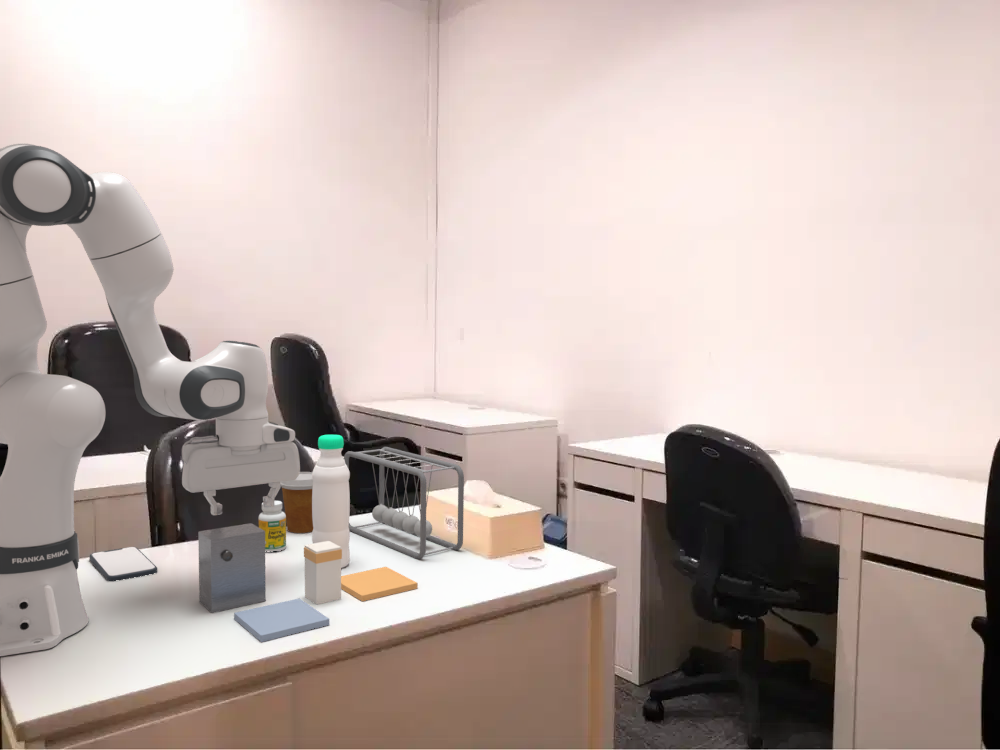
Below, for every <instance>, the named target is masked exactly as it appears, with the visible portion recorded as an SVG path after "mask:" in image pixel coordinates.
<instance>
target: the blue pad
mask: <svg viewBox="0 0 1000 750" xmlns="http://www.w3.org/2000/svg"><path fill="white" fill-rule="evenodd" d="M233 618H234V619H233V620H235V621H236V622H237V623H239V624H240V626H242V627H243V628H244V629H245V630H246V631H248V632H249V633H250V635H252V636H253V637H255V638H256V640H258V641H259V642H261V643H263V642H267V641H268V642H269V641H271V640H276V639H280V638H284V637H287V635H288V636H291V634H292V635H295V633H296V634H299V632H300V633H304V632H308V631H312V630H315V629H319V627H320V628H323V626H324V627H327V625H328V626H330V618H329V617H327V616H326V615H324V614H323V613H322V612H320V611H319V610H317V609H316V608H314V607H313V606H311V604H308V603H307V602H305V601H304V600H303V599H301V598H300V597H299V598H298V597H297V598H295V599H290V600H286V601H281V602H276V603H272V604H267V605H263V606H258V607H254V608H250V609H249V608H248V609H246V610H245V609H244V610H241V611H240V610H239V611H236V612H234V613H233ZM314 628H315V629H314ZM311 629H312V630H311ZM307 630H308V631H307ZM303 631H304V632H303Z"/></svg>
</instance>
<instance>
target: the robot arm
mask: <svg viewBox="0 0 1000 750" xmlns="http://www.w3.org/2000/svg"><path fill="white" fill-rule="evenodd" d="M59 225H60V226H62V225H66V226H68V227H69V228H70V229H71V230H72V232H74V233H75V235H76V236H77V238H78V239H79V240H80V241H81V245H82V247H83V248H84V251H85V254H86V255H87V257H88V258H89V261H90V263H91V265H92V267H93V269H94V271H95V273H96V275H97V277H98V279H99V282H100V284H101V287H102V288H103V292H104V294H105V298H106V301H107V305H108V306H107V307H108V309H109V311H110V314H111V318H112V320H113V322H114V324H115V328H116V330H117V332H118V334H119V337H120V340H121V342H122V343H123V346H124V349H125V352H126V354H127V356H128V359H129V361H130V364H131V367H132V372H133V383H134V384H133V385H134V391H135V392H134V393H135V395H136V399H137V402H138V403H139V405H140V406H141V408H142V409H143V410H145V412H147V413H149V414H151V415H152V416H155V417H159V418H160V417H161V418H179V419H184V420H185V419H186V420H193V421H208V420H213V419H215V435H207V436H194V437H191V438H190V439H189V440H186V441H185V442H184V444H182V447H181V460H182V461H183V467H182V475H181V484H182V487H183V488H184V489H185V490H186V491H188V492H190V493H192V494H193V493H200V492H203V496H204V497H205V499H206V500H207V502H208V503H209V505H210V514H211V515H212V516H218V515H222V514H223V504H221V503H220V502H217V501H216V500H215V498H214V497H216V494H217V491H218V490H226V489H233V488H241V487H251V486H256V485H257V486H258V485H263V484H264V485H265V484H268V486H269V487H270V489H269V491H268V494H267V495H266V496H265V495H264V496H262V501H263V502H262V503H263V506H264V507H265V508H268V507H274V501H275V498H276V496H277V495H278V493H279V491H280V489H281V485H280V482H282V481H290V480H296V479H297V477H298V476H299V474H300V472H301V464H300V463H301V462H300V453H299V449H298V446H297V444H296V443H295V442H293V441H295V439H296V431H295V430H294V429H292V428H291V427H290V428H289V427H286V426H283V425H280V424H277V423H275V422H270V421H269V412H268V409H267V408H268V407H267V402H266V401H267V397H268V394H269V393H268V392H269V377H268V364H267V358H266V354H265V351H264V350H263V349H262V347H260V346H259V345H257V344H253V343H251V342H245V341H236V340H223V341H220V342H219V343H218V345H217V346H216V347H215V348H214V349H212V350H211V351H210V352H208V353H207V354H205V355H204V356H202V357H199V358H198V359H194V360H193V361H184V360H181V359H179V358H177V357H176V356H175V355H174V354H172V353H171V351H170V349H169V348H168V346H167V343H166V340H165V337H164V334H163V332H162V329H161V327H160V324H159V322H158V319H157V317H156V313H155V303H156V299H158V297H159V296H161V294H163V292H164V291H165V290H166V288H168V286H169V284H170V282H171V280H172V277H173V274H174V270H175V269H174V264H173V259H172V255H171V252H170V249H169V247H168V244H167V241H166V240H165V238H164V236H163V233H162V232H161V228H160V227H159V226H158V224H157V221H156V220H155V217H154V216H153V214H152V212H151V210H150V209H149V207H148V206H147V203H146V202H145V200H144V199H143V197H142V196H141V194H140V193H139V192H138V190H137V188H135V186H134V185H133V183H132V182H131V181H130V180H129V179H128V178H127V177H126V176H124V175H123V174H120V173H118V172H112V171H98V172H94V173H90V174H88V173H87V172H85V171H84V170H83V169H81V168H80V167H78V166H77V164H75V163H73V162H72V161H71V160H69V159H68V158H67V157H66V156H64V155H62V154H61V153H59V152H57V151H55V150H53V149H51V148H48V147H45V146H41V145H35V144H32V143H13V144H9V145H6V146H4V147H2V148H0V444H4V445H7V447H8V449H7V455H6V459H5V465H4V467H3V471H2V474H1V475H0V657H5V656H10V655H18V654H24V653H30V652H37V651H44V650H49V649H51V648H54V647H55V646H57V645H58V644H60V643H61V641H62V640H64V639H65V638H67V637H69V636H72V635H74V634H76V633H78V632H79V631H81V630H82V629H84V628H85V627H86V626H87V625H88V624H89V616H88V614H87V611H86V607H85V604H84V602H83V601H84V600H83V598H82V592H81V588H80V582H79V578H78V577H79V576H78V569H79V562H80V543H79V542H80V541H79V538H78V533H77V532H76V531H75V499H74V498H75V494H74V493H75V481H76V477H77V473H78V469H79V464H80V462H81V459H82V456H83V454H84V451H85V450H86V448H87V447H88V446H89V445H90V444H91V442H93V441H94V440H95V439H96V438H97V437H98V436H99V434H100V433H101V431H102V429H103V427H104V424H105V421H106V404H105V402H104V400H103V399H104V398H103V397H102V395H101V394H100V392H99V391H98V390H97V389H96V388H95V387H93V386H92V385H90V384H87V383H85V382H83V381H81V380H78V379H76V378H73V377H70V376H68V375H61V374H60V375H59V374H49V373H48V374H47V373H42V372H41V370H40V368H39V362H38V347H39V342H40V339H41V338H42V337H43V336H44V335H45V334H46V331H47V325H48V323H47V318H46V315H45V312H44V308H43V305H42V301H41V297H40V294H39V291H38V288H37V284H36V280H35V276H34V273H33V270H32V267H31V264H30V261H29V259H28V254H27V245H26V243H27V242H26V240H27V235H28V232H29V230H30V229H31V228H32V226H35V227H36V226H37V227H39V226H40V227H51V226H59ZM216 490H217V491H216Z"/></svg>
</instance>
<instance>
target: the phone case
mask: <svg viewBox="0 0 1000 750" xmlns="http://www.w3.org/2000/svg"><path fill="white" fill-rule="evenodd" d="M90 561H91V562H90ZM89 562H90V563H91V565H93V567H94V568H95V569H96V570H97V571H98V572H99V574H101V576H102V578H104V579H105V580H106V581H107V582H117V581H116V580H119V581H124V580H123V579H125V580H129V578H130V579H135V578H134V577H136V578H141V577H146V576H145V575H147V576H150V575H149V574H152V575H155V574H154V573H156V574H157V573H158V567H157V565H155V564H154V562H152V561H151V560H150V559H149V558H148V557H147V556H146V555H145V553H143V552H142V551H141V550H140V549H139V548H138V547H136V546H127V547H123V548H116V549H108V550H102V551H97V552H93V553H90V554H89ZM140 576H141V577H140Z"/></svg>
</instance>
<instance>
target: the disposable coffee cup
mask: <svg viewBox="0 0 1000 750" xmlns="http://www.w3.org/2000/svg"><path fill="white" fill-rule="evenodd" d="M312 472H313V471H311V472H310V471H300V474H299V476H298V477H297V479H296V480H290V481H282V482H280V488H281V491H282V499H283V507H284V513H285V515H286V531H288V532H289V531H290V532H289V533H292V532H293V533H294V534H307V533H312V532H313V519H312V489H313V479H312ZM293 533H292V534H293Z"/></svg>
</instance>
